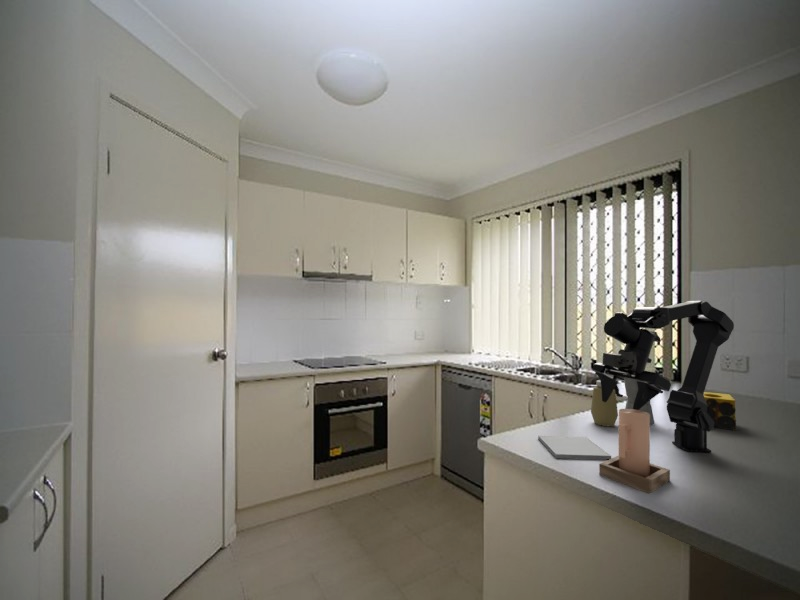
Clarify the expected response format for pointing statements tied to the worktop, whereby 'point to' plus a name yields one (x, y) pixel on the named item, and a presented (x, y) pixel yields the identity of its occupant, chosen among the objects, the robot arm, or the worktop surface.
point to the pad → (573, 447)
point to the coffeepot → (634, 396)
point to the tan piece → (634, 441)
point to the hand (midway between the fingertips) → (618, 406)
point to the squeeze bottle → (603, 407)
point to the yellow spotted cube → (721, 410)
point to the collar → (644, 484)
